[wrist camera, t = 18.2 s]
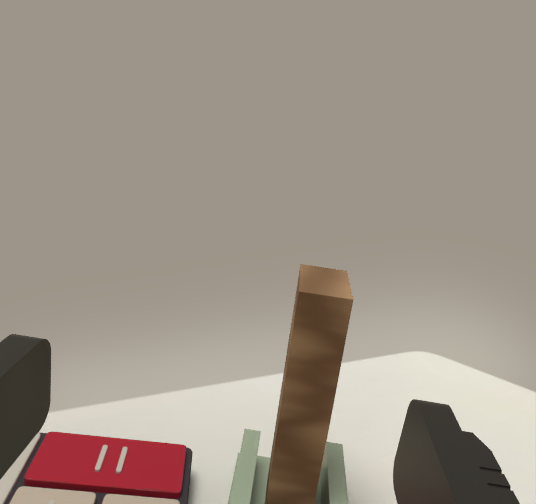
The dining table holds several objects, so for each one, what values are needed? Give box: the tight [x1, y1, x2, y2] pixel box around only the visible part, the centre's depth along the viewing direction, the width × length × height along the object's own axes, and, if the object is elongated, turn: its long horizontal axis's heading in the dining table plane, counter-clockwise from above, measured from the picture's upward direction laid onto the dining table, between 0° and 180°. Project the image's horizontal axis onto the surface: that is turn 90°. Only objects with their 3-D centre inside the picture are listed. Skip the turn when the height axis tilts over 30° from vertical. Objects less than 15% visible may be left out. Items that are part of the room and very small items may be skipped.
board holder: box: [228, 429, 348, 504], centre depth 34 cm, size 8×10×4 cm
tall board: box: [265, 264, 353, 504], centre depth 32 cm, size 3×5×17 cm, turn 176°
